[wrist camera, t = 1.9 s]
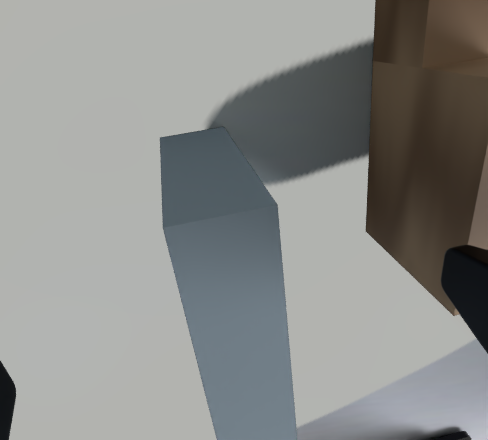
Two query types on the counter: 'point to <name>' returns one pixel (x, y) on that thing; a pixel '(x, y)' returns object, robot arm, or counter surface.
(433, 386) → the counter surface
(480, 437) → the counter surface
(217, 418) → the slate block
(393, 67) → the walnut board
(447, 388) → the counter surface
